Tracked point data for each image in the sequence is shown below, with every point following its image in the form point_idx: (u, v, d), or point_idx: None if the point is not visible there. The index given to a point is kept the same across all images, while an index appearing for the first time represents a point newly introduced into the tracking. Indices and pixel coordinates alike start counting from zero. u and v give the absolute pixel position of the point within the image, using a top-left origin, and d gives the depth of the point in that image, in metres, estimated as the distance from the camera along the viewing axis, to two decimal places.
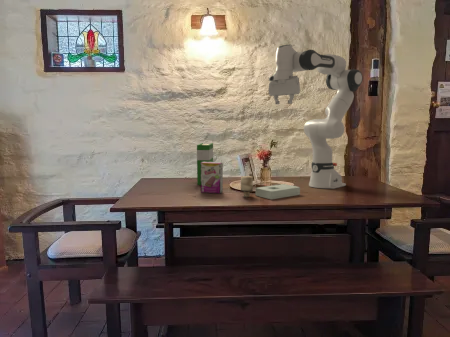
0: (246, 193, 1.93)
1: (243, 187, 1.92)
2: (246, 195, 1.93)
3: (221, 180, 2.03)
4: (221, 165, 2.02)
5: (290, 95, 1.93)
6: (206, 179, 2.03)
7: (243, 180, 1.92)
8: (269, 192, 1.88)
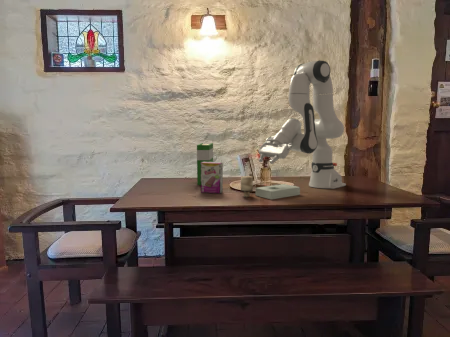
0: (246, 193, 1.93)
1: (243, 187, 1.92)
2: (246, 195, 1.93)
3: (221, 180, 2.03)
4: (221, 165, 2.02)
5: (275, 156, 1.94)
6: (206, 179, 2.03)
7: (243, 180, 1.92)
8: (269, 192, 1.88)
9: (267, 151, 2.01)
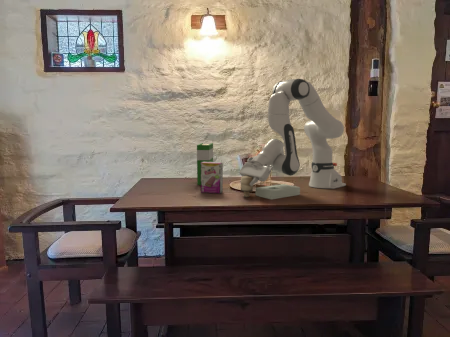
0: (246, 193, 1.93)
1: (243, 187, 1.92)
2: (246, 195, 1.93)
3: (221, 180, 2.03)
4: (221, 165, 2.02)
5: (254, 178, 1.90)
6: (206, 179, 2.03)
7: (243, 180, 1.92)
8: (269, 192, 1.88)
9: (248, 173, 1.96)
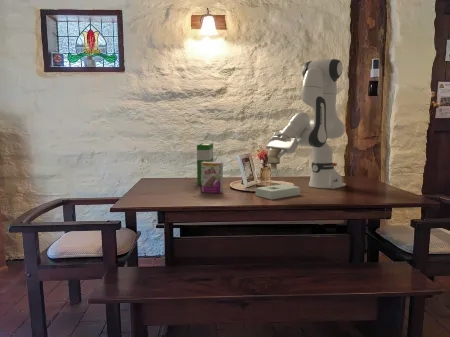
0: (273, 166, 1.93)
1: (270, 159, 1.91)
2: (273, 168, 1.93)
3: (221, 180, 2.03)
4: (221, 165, 2.02)
5: (282, 150, 1.90)
6: (206, 179, 2.03)
7: (270, 152, 1.91)
8: (269, 192, 1.88)
9: (275, 145, 1.95)
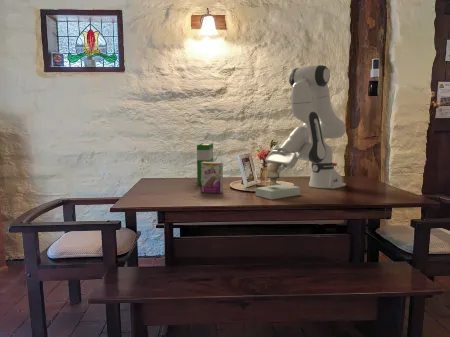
0: (272, 180, 1.93)
1: (270, 174, 1.92)
2: (273, 182, 1.94)
3: (221, 180, 2.03)
4: (221, 165, 2.02)
5: (282, 165, 1.90)
6: (206, 179, 2.03)
7: (270, 167, 1.92)
8: (269, 192, 1.88)
9: (274, 160, 1.96)
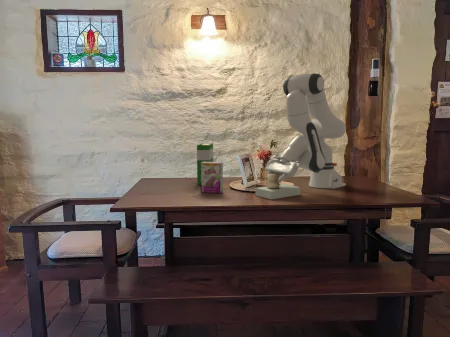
0: None
1: (270, 185, 1.93)
2: None
3: (221, 180, 2.03)
4: (221, 165, 2.02)
5: (283, 174, 1.90)
6: (206, 179, 2.03)
7: (270, 178, 1.92)
8: (269, 192, 1.88)
9: (274, 169, 1.97)
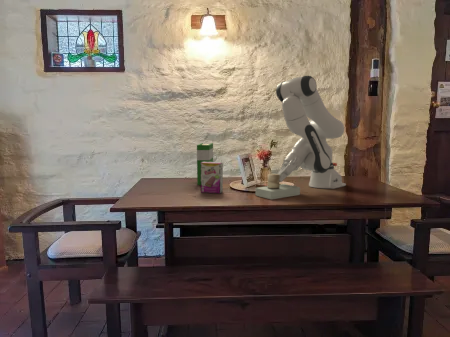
0: None
1: (270, 185, 1.93)
2: None
3: (221, 180, 2.03)
4: (221, 165, 2.02)
5: (283, 173, 1.92)
6: (206, 179, 2.03)
7: (270, 178, 1.92)
8: (269, 192, 1.88)
9: (280, 173, 1.99)
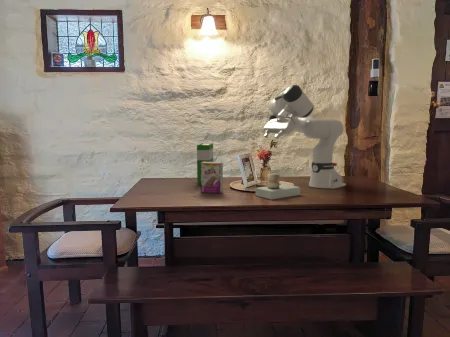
0: None
1: (270, 184, 1.93)
2: None
3: (221, 180, 2.03)
4: (221, 165, 2.02)
5: None
6: (206, 179, 2.03)
7: (270, 177, 1.93)
8: (269, 192, 1.88)
9: None
